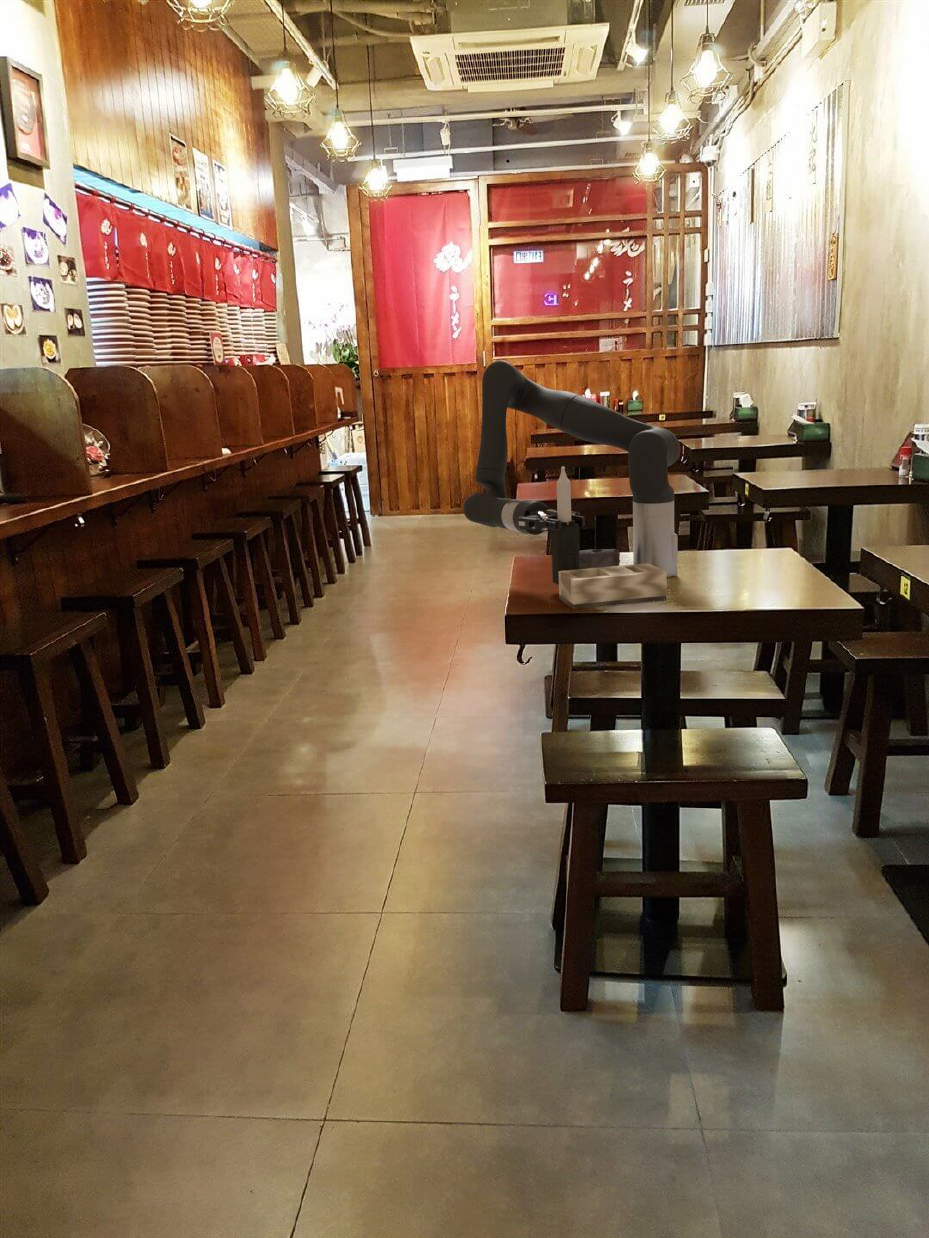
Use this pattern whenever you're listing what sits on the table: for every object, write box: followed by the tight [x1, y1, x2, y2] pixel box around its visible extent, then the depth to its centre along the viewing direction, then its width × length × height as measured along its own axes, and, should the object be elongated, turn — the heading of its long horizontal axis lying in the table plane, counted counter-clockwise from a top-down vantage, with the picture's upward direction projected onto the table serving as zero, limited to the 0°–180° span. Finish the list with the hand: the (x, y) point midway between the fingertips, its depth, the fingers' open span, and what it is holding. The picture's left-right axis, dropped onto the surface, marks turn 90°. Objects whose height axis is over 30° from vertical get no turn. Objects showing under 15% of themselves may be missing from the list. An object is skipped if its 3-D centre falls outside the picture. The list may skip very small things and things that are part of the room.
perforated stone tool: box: [579, 548, 621, 569], centre depth 223 cm, size 15×5×7 cm, turn 75°
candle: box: [550, 465, 580, 586], centre depth 206 cm, size 5×5×25 cm
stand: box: [558, 563, 668, 610], centre depth 201 cm, size 20×10×6 cm, turn 101°
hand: (571, 523), depth 204 cm, fingers closed on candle, 5 cm apart
